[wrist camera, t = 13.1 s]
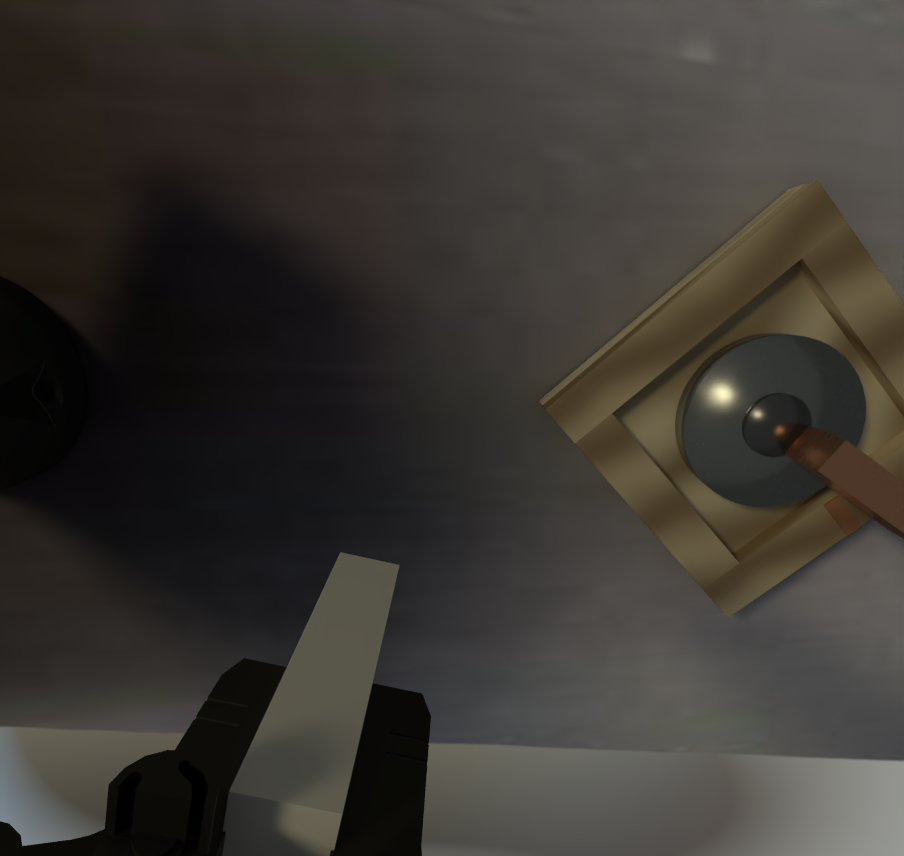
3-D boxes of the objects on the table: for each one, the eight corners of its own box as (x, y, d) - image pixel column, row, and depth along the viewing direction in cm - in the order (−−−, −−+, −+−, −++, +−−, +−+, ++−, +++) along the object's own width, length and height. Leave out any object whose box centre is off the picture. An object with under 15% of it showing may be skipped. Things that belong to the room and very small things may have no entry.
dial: (640, 439, 36) (670, 465, 30) (754, 297, 33) (808, 298, 28) (826, 568, 38) (883, 612, 32) (946, 443, 35) (1028, 470, 30)
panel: (539, 400, 37) (545, 410, 34) (789, 188, 33) (820, 179, 30) (710, 595, 40) (729, 619, 38) (953, 423, 37) (995, 435, 34)
